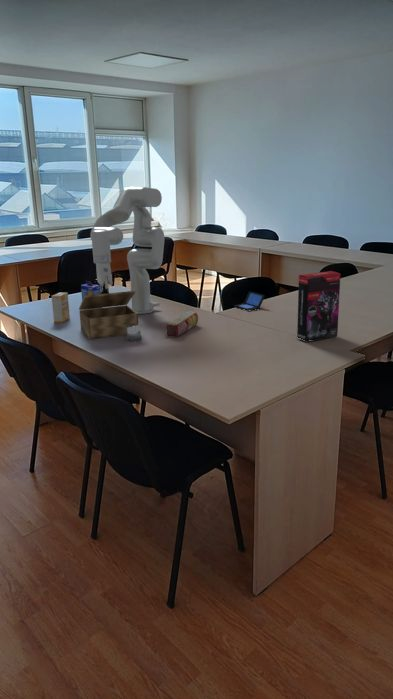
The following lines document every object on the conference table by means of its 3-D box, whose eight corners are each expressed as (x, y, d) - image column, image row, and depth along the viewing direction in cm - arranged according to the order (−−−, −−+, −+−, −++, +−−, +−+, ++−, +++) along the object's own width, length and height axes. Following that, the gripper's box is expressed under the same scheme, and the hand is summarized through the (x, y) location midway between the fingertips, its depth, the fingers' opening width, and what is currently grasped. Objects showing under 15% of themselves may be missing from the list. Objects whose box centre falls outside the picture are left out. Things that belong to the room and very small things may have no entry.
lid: (126, 304, 242) (126, 303, 242) (135, 292, 227) (134, 290, 227) (79, 310, 234) (79, 308, 234) (84, 297, 219) (84, 295, 219)
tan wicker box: (127, 323, 245) (126, 305, 242) (138, 332, 230) (137, 313, 228) (81, 329, 237) (79, 310, 234) (89, 339, 222) (87, 319, 219)
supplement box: (63, 323, 248) (60, 295, 244) (53, 322, 249) (50, 295, 244) (70, 318, 255) (68, 292, 251) (61, 318, 256) (58, 291, 252)
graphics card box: (305, 343, 213) (309, 276, 204) (294, 339, 219) (298, 274, 210) (337, 337, 220) (342, 272, 212) (326, 333, 226) (331, 270, 218)
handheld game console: (233, 307, 273) (233, 293, 271) (249, 304, 279) (249, 290, 277) (249, 312, 264) (249, 297, 261) (265, 309, 269) (265, 294, 267)
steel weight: (138, 336, 225) (137, 323, 223) (142, 340, 220) (142, 326, 218) (124, 338, 223) (124, 325, 221) (128, 342, 217) (128, 328, 215)
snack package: (178, 338, 222) (178, 323, 220) (165, 336, 225) (164, 321, 223) (198, 325, 241) (198, 311, 239) (185, 324, 243) (185, 310, 241)
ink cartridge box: (81, 307, 276) (79, 280, 272) (89, 305, 281) (87, 278, 276) (95, 310, 271) (92, 282, 266) (102, 308, 275) (100, 280, 270)
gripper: (114, 260, 221) (117, 303, 227) (106, 255, 234) (110, 295, 240) (97, 262, 218) (100, 305, 224) (90, 257, 231) (93, 297, 237)
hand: (105, 300), depth 232 cm, fingers closed
